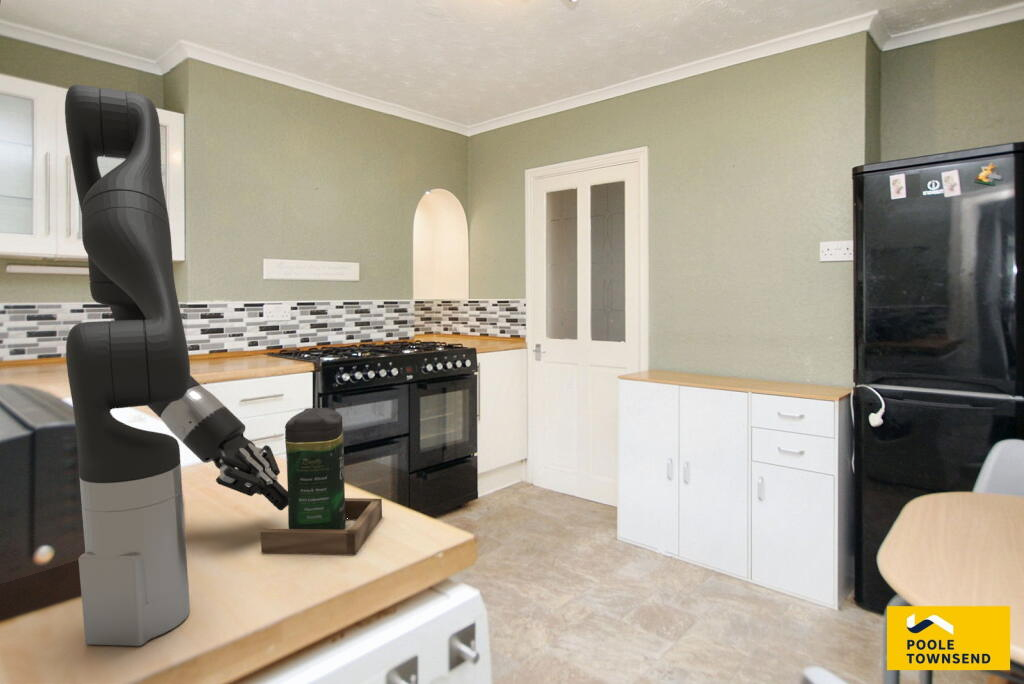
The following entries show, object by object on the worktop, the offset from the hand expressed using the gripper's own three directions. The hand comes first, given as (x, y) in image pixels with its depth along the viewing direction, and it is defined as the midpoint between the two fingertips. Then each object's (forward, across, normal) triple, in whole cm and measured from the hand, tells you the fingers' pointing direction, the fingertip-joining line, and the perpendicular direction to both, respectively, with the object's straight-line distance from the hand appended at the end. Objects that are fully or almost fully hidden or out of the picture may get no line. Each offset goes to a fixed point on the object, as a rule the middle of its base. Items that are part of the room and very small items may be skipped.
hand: (287, 504), depth 90 cm
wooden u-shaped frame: (+7, 0, -1) cm, 7 cm away
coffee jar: (+6, 0, 0) cm, 6 cm away
